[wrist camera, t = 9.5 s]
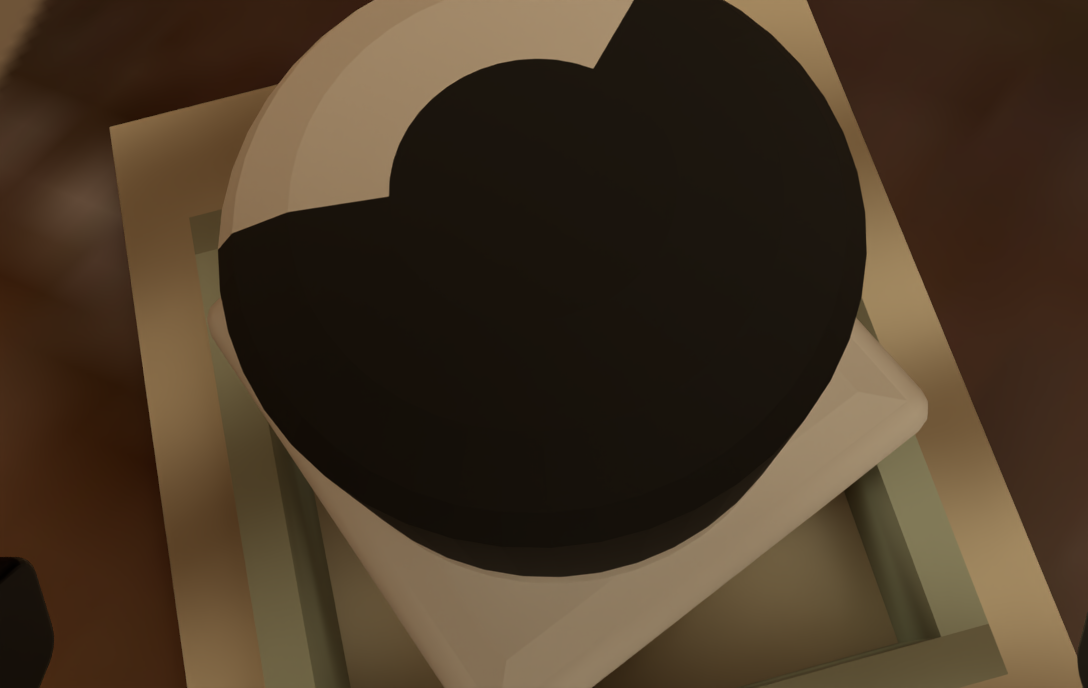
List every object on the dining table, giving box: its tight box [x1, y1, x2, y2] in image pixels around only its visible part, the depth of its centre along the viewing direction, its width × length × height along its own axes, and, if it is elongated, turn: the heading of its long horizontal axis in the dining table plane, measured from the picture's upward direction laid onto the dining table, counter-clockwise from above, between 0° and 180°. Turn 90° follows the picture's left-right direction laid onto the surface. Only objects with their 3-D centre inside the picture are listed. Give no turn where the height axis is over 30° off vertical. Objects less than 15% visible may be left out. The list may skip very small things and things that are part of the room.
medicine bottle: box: [207, 0, 928, 688], centre depth 15 cm, size 7×7×12 cm
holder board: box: [110, 0, 1083, 688], centre depth 20 cm, size 20×16×4 cm
